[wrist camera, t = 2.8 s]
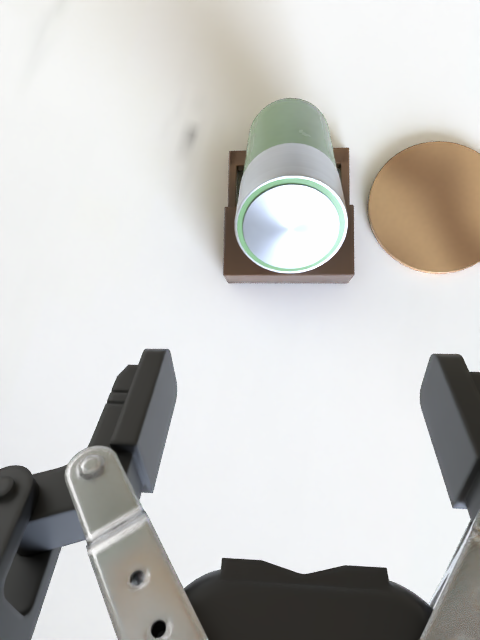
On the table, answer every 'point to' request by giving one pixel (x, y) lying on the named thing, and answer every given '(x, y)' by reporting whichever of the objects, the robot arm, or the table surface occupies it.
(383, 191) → the cork coaster
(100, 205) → the table surface
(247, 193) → the green can
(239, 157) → the walnut rest
